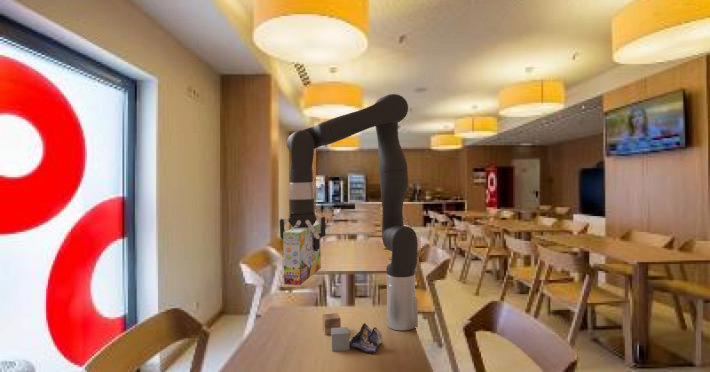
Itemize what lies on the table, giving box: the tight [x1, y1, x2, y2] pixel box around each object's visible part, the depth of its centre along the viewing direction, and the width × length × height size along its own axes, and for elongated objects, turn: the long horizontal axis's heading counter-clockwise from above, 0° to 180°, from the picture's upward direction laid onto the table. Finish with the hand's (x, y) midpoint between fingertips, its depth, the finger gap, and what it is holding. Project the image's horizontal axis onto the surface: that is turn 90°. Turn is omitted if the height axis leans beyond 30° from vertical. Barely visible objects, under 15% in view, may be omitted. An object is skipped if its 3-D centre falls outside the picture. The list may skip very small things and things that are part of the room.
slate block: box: [330, 326, 351, 352], centre depth 127 cm, size 5×5×5 cm
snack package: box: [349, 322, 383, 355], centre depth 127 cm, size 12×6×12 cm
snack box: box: [282, 222, 322, 286], centre depth 131 cm, size 21×6×15 cm, turn 169°
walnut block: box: [321, 312, 342, 336], centre depth 139 cm, size 5×5×5 cm
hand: (303, 251), depth 131 cm, fingers closed on snack box, 7 cm apart
